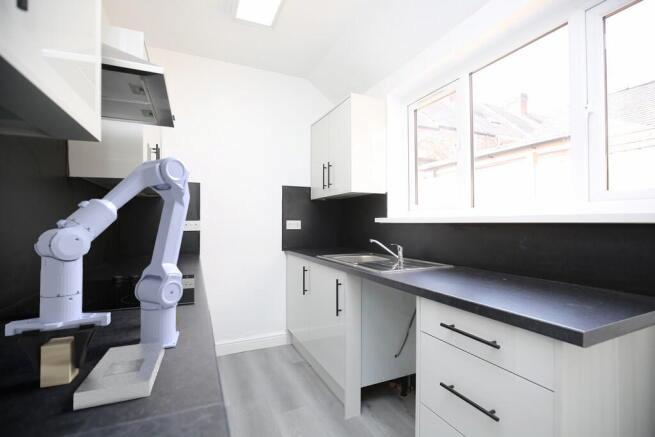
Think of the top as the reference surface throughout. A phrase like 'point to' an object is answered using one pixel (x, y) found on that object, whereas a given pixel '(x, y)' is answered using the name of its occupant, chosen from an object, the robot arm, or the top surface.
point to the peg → (58, 362)
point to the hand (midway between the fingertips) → (60, 369)
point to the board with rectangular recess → (121, 375)
